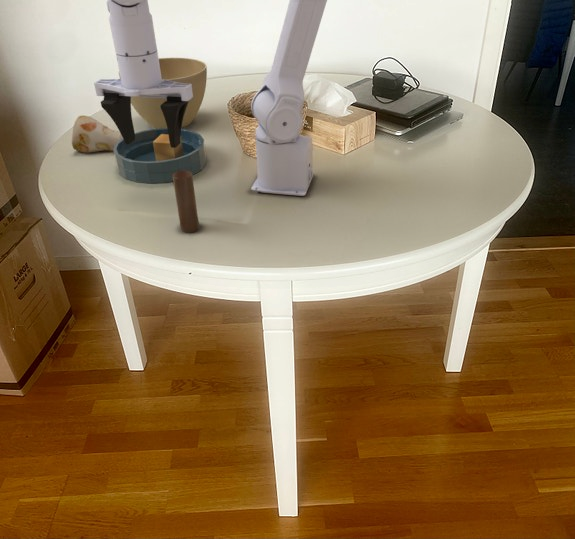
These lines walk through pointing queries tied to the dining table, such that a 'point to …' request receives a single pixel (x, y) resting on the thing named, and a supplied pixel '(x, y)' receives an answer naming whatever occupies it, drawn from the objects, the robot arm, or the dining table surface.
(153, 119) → the flower pot
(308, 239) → the dining table surface
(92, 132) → the cream tapered piece
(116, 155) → the bowl
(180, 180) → the stick
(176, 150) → the block
